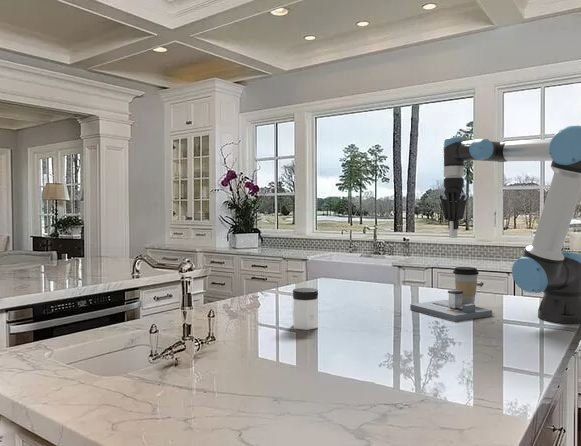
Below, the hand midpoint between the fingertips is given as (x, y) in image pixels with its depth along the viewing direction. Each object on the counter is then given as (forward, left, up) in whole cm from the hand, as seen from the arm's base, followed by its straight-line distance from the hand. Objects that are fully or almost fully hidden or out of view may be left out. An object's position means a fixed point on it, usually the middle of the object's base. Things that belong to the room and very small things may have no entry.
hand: (453, 237), depth 192 cm
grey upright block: (-13, +12, -24) cm, 30 cm away
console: (-10, +12, -26) cm, 31 cm away
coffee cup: (-6, -1, -27) cm, 27 cm away
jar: (-3, +69, -27) cm, 74 cm away
